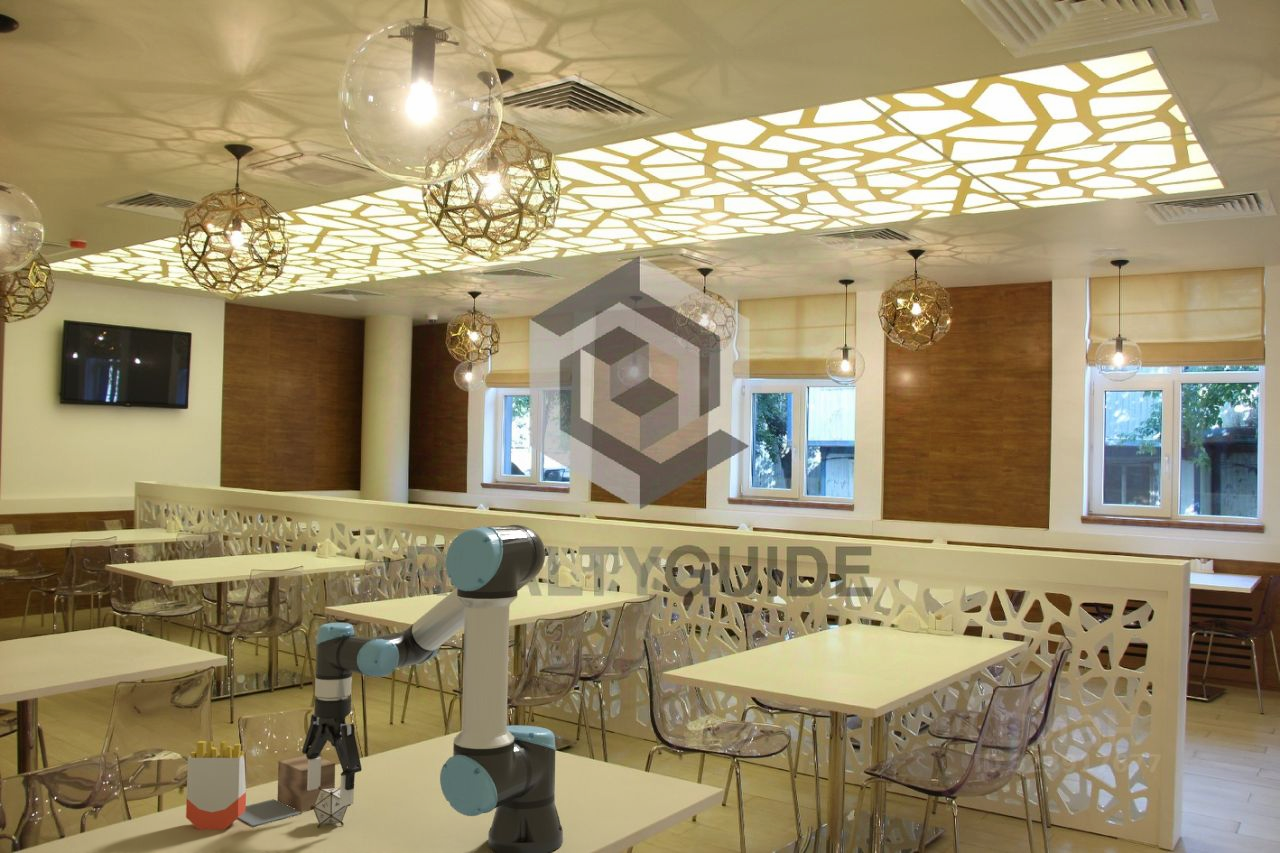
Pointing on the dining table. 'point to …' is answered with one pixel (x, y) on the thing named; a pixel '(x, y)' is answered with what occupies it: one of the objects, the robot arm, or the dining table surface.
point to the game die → (329, 807)
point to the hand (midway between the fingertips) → (329, 796)
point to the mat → (266, 812)
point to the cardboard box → (301, 782)
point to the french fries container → (215, 786)
